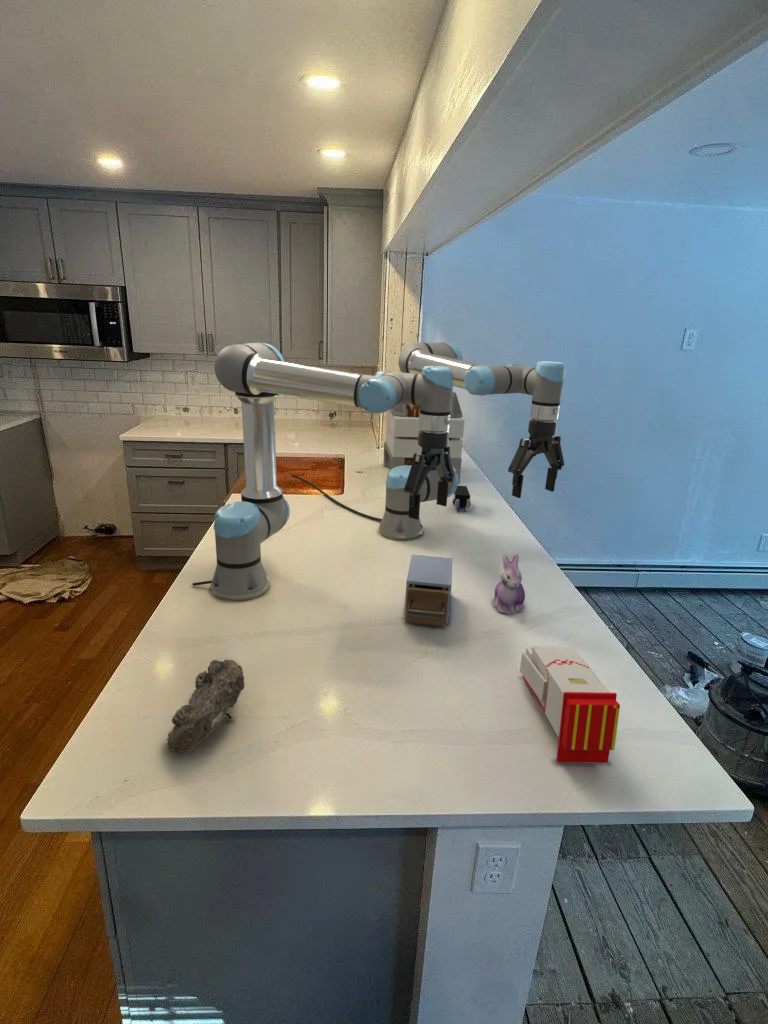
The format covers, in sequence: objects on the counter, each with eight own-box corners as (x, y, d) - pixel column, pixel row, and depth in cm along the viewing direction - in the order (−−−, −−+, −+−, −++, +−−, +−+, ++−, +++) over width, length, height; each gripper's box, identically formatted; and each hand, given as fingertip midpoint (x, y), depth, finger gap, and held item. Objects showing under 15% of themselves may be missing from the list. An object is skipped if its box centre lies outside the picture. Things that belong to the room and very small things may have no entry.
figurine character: (470, 516, 223) (465, 500, 237) (473, 499, 220) (467, 484, 233) (453, 516, 223) (449, 500, 236) (455, 498, 220) (451, 483, 233)
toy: (568, 628, 125) (630, 701, 96) (562, 684, 128) (620, 770, 99) (514, 627, 125) (559, 699, 96) (509, 683, 128) (551, 770, 98)
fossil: (192, 660, 117) (244, 628, 112) (224, 691, 120) (276, 661, 115) (142, 746, 98) (202, 712, 93) (182, 779, 101) (242, 748, 96)
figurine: (507, 618, 147) (514, 566, 142) (483, 600, 156) (489, 550, 151) (534, 611, 152) (542, 560, 146) (510, 594, 160) (516, 545, 155)
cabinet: (447, 624, 144) (451, 585, 140) (404, 619, 145) (406, 580, 141) (449, 594, 159) (452, 558, 155) (409, 590, 160) (412, 554, 157)
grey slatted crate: (382, 463, 289) (386, 382, 275) (445, 464, 293) (451, 384, 279) (390, 482, 257) (394, 392, 243) (460, 483, 261) (468, 394, 247)
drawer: (444, 639, 135) (447, 605, 132) (403, 635, 136) (405, 601, 133) (447, 597, 155) (450, 566, 152) (410, 593, 156) (412, 563, 153)
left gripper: (419, 440, 129) (413, 527, 136) (471, 426, 148) (464, 503, 155) (392, 435, 133) (388, 520, 140) (446, 422, 152) (440, 497, 159)
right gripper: (521, 425, 146) (511, 503, 153) (584, 419, 159) (572, 491, 166) (500, 420, 152) (492, 495, 159) (563, 414, 165) (552, 484, 172)
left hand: (428, 511), depth 147 cm, fingers open, 13 cm apart
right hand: (533, 493), depth 163 cm, fingers open, 13 cm apart
